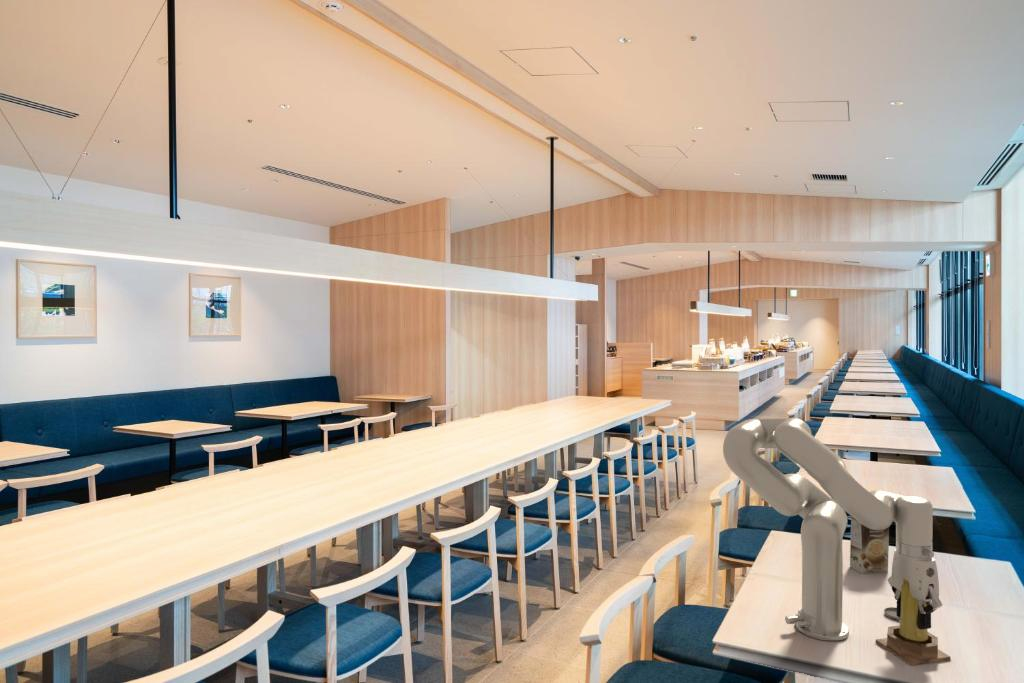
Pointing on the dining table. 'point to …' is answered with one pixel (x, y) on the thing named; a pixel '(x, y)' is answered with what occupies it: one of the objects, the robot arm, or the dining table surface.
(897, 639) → the collar
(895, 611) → the pocket watch
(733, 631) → the dining table surface
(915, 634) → the vase
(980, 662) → the dining table surface
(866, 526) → the robot arm
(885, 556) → the coffee box
